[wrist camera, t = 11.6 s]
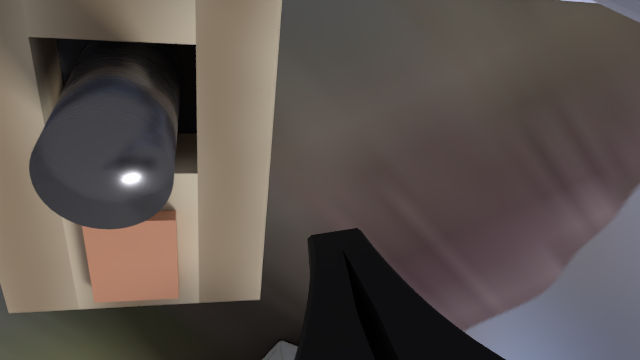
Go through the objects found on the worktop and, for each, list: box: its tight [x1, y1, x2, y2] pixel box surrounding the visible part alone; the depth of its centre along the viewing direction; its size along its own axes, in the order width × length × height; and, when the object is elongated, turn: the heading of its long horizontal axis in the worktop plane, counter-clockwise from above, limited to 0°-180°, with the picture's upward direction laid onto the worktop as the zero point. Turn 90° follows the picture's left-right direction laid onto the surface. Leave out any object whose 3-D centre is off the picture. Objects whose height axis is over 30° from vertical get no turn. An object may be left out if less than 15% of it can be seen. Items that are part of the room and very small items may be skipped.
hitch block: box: [0, 0, 282, 313], centre depth 20 cm, size 10×13×3 cm
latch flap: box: [82, 210, 179, 303], centre depth 20 cm, size 3×4×1 cm
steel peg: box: [29, 40, 182, 229], centre depth 17 cm, size 4×4×7 cm
